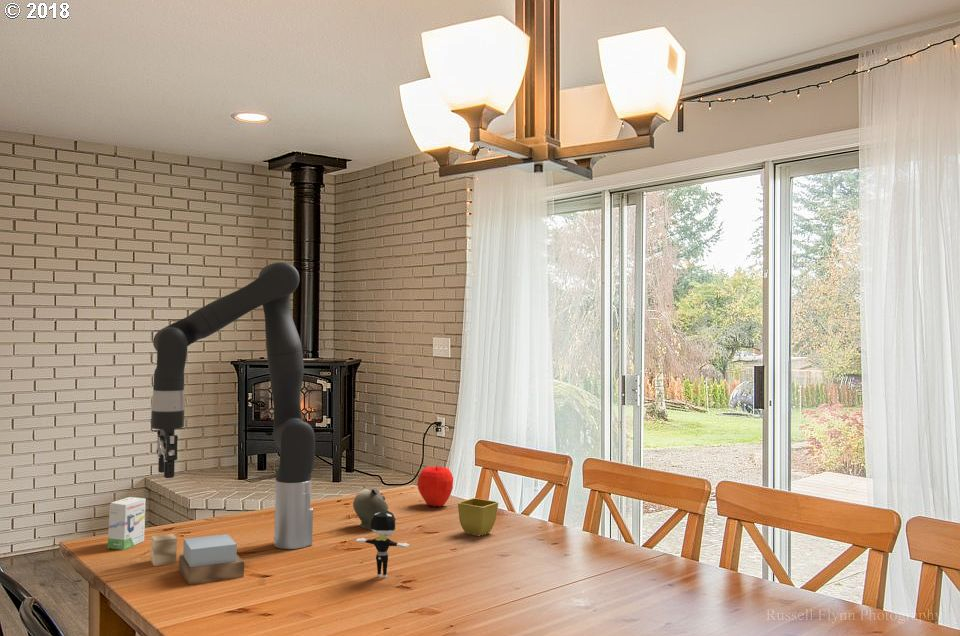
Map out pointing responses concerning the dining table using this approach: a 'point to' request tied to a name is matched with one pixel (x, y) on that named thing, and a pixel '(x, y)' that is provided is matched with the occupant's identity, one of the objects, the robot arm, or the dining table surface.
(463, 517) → the flower pot
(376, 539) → the toy
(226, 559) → the slate-blue block
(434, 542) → the dining table surface
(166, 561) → the maple block
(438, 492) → the apple
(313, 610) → the dining table surface
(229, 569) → the walnut plinth block
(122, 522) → the ink box
